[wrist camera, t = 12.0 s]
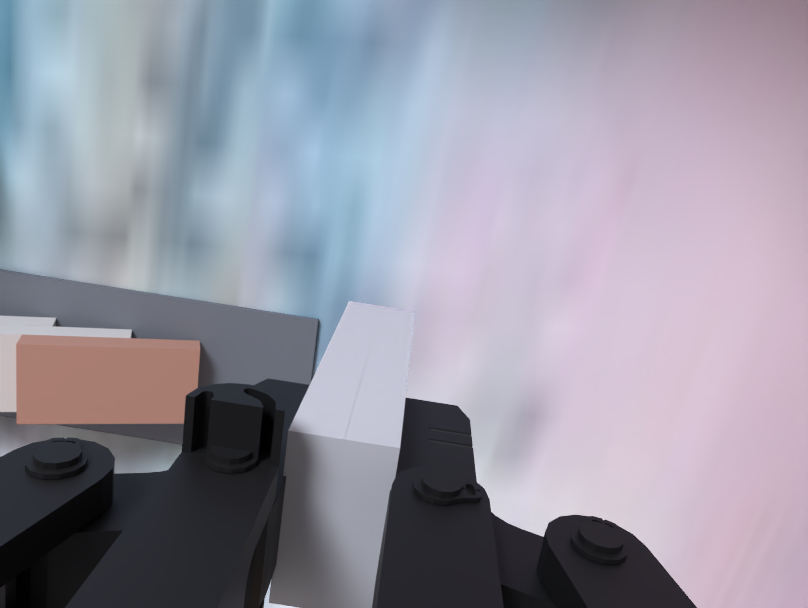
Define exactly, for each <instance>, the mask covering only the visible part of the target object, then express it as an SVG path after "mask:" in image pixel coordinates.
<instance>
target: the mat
mask: <svg viewBox="0 0 808 608" xmlns="http://www.w3.org/2000/svg"><path fill="white" fill-rule="evenodd" d="M0 316H25V317H52V318H56V327H80V328H106V329H132V338H138V339H167V340H196V341H200V360H199V374H198V388H201V387H204V386H208V385H211V384H223V383H238V384H249V385H255V384H257V383H259V382H261V381H263V380H266V379H268V378H269V379H275V380H282V381H288V382H295V383H301V384H307V385H310V383H311V380H312V372H313V364H314V355H315V347H316V339H317V330H318V322H319V319H314V318H307V317H301V316H294V315H288V314H282V313H275V312H269V311H262V310H256V309H250V308H243V307H237V306H230V305H224V304H218V303H211V302H205V301H198V300H192V299H185V298H179V297H173V296H166V295H160V294H153V293H147V292H141V291H134V290H128V289H121V288H115V287H109V286H102V285H96V284H89V283H83V282H77V281H70V280H64V279H57V278H51V277H45V276H38V275H32V274H25V273H19V272H12V271H6V270H0ZM0 416H5V417H12V418H17V412H0ZM56 425H63V426H69V427H76V428H82V429H88V430H95V431H101V432H107V433H114V434H120V435H126V436H133V437H139V438H146V439H152V440H158V441H165V442H171V443H177V444H183V429H184V424H56Z"/></svg>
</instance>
